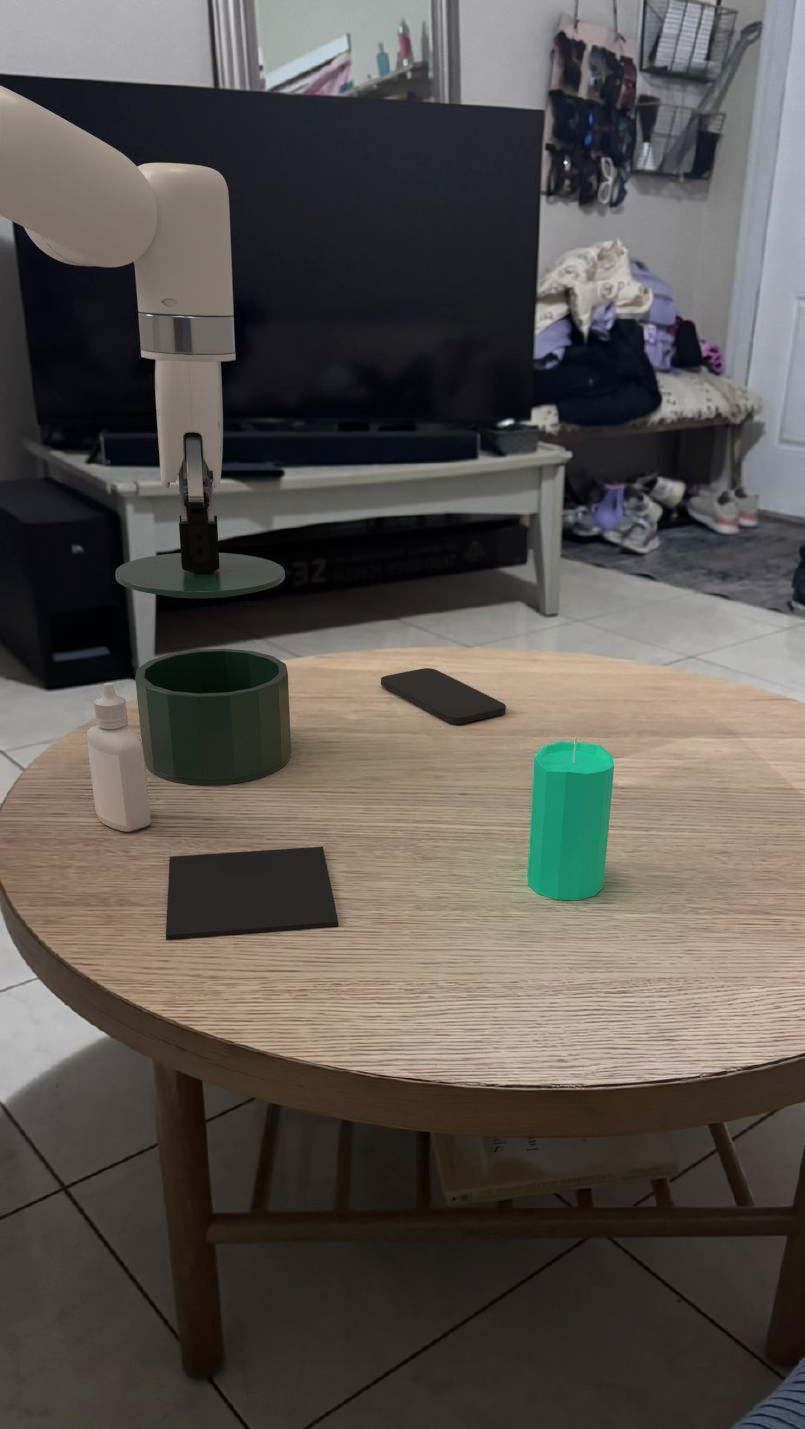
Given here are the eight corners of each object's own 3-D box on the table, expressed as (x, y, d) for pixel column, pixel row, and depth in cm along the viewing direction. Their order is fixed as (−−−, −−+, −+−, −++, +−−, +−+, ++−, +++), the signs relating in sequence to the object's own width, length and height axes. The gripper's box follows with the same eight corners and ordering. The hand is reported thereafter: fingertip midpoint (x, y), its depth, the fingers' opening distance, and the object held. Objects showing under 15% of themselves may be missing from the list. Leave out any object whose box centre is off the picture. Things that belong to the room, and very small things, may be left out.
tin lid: (110, 605, 95) (103, 529, 93) (121, 564, 108) (115, 496, 105) (290, 603, 98) (288, 529, 95) (280, 563, 111) (278, 497, 108)
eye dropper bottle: (96, 837, 95) (79, 697, 89) (95, 808, 100) (78, 674, 94) (152, 831, 96) (137, 693, 91) (148, 803, 101) (134, 671, 95)
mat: (166, 940, 81) (165, 935, 81) (170, 860, 91) (169, 856, 91) (338, 926, 83) (338, 921, 83) (323, 850, 94) (323, 846, 94)
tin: (141, 789, 103) (132, 698, 100) (147, 733, 115) (139, 651, 112) (295, 781, 106) (291, 692, 102) (285, 727, 118) (282, 646, 114)
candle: (561, 856, 94) (571, 716, 89) (619, 883, 90) (633, 739, 85) (510, 880, 90) (517, 735, 85) (568, 909, 86) (580, 759, 81)
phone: (453, 719, 119) (376, 677, 130) (453, 727, 119) (376, 684, 130) (511, 706, 123) (430, 666, 134) (510, 713, 123) (430, 673, 134)
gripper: (144, 331, 101) (159, 545, 109) (135, 343, 87) (153, 588, 95) (232, 334, 102) (241, 545, 110) (237, 347, 88) (247, 588, 96)
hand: (200, 563), depth 102 cm, fingers closed on tin lid, 2 cm apart
